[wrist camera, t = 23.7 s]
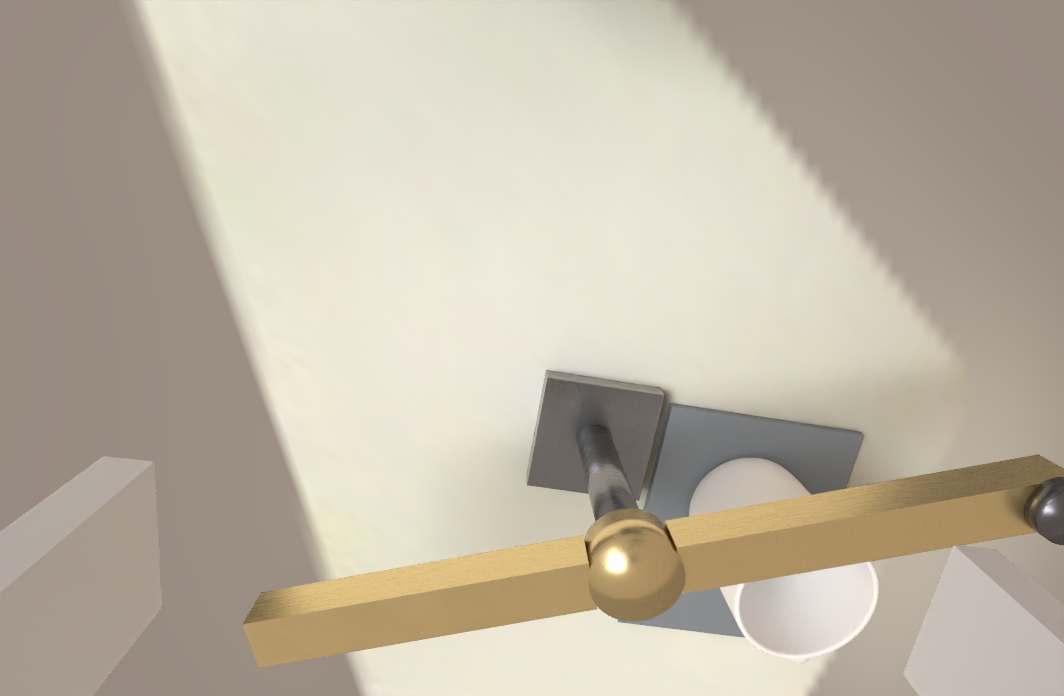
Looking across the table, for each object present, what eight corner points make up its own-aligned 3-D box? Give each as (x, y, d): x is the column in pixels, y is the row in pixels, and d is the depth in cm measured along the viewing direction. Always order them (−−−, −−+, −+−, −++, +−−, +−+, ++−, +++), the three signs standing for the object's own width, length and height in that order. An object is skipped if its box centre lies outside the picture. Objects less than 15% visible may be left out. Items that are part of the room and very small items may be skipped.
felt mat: (670, 403, 43) (672, 406, 42) (859, 431, 44) (863, 435, 44) (616, 616, 48) (618, 621, 47) (788, 637, 49) (791, 643, 49)
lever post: (546, 370, 42) (561, 460, 29) (659, 387, 43) (724, 484, 30) (526, 474, 44) (532, 601, 31) (634, 489, 45) (684, 620, 32)
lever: (1045, 433, 29) (1110, 466, 26) (1040, 514, 30) (1101, 554, 27) (256, 574, 30) (226, 622, 27) (282, 646, 31) (256, 700, 28)
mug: (808, 582, 47) (887, 694, 37) (700, 604, 47) (751, 720, 37) (793, 442, 44) (875, 523, 34) (678, 466, 44) (726, 554, 34)
